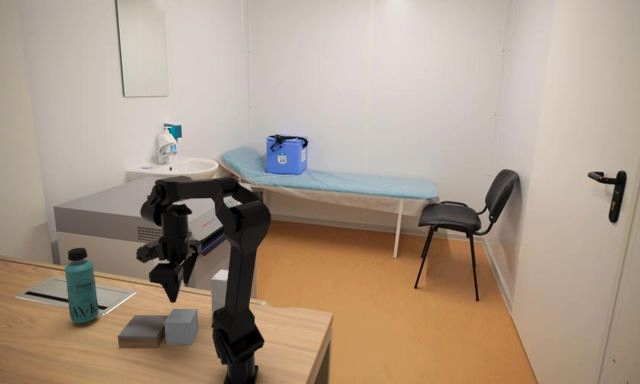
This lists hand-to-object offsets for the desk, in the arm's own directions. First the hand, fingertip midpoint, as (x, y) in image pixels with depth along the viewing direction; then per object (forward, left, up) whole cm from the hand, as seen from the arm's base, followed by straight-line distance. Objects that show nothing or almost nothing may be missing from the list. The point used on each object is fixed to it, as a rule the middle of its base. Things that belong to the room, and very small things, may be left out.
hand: (180, 292), depth 95 cm
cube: (0, 0, -12) cm, 12 cm away
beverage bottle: (+6, +27, -12) cm, 30 cm away
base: (0, +9, -12) cm, 15 cm away
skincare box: (+10, -8, -12) cm, 18 cm away
